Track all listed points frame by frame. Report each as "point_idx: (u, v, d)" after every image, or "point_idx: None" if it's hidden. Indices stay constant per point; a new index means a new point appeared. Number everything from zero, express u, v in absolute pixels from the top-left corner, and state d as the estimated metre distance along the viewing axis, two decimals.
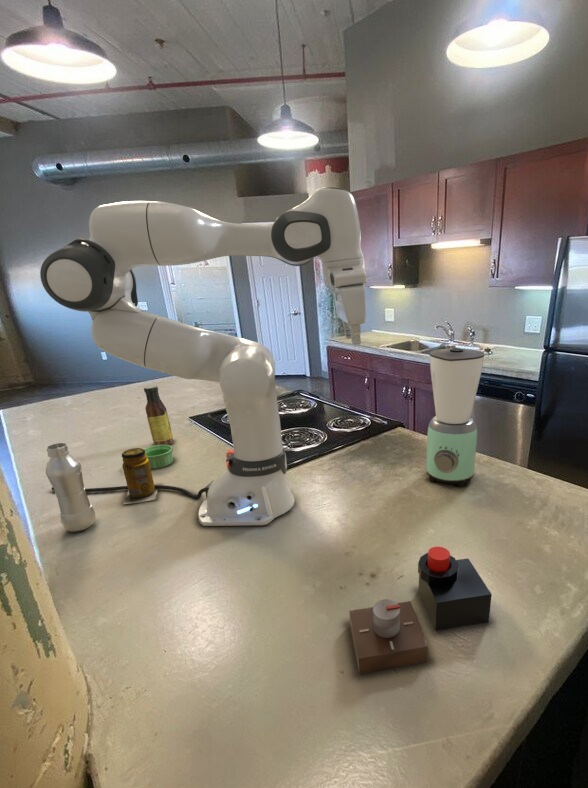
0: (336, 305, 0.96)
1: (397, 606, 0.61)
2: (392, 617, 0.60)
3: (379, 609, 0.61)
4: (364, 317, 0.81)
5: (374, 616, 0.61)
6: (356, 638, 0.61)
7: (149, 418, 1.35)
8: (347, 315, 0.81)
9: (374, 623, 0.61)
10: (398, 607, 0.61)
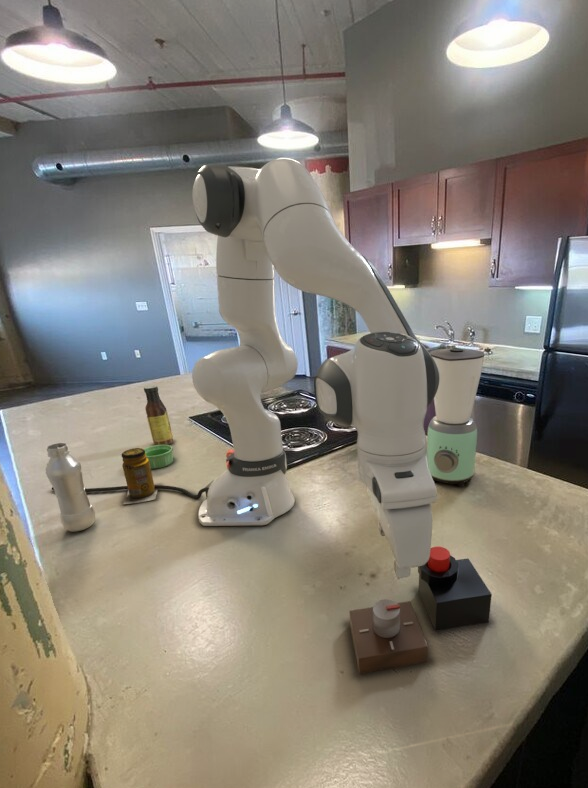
0: None
1: (397, 606, 0.61)
2: (392, 617, 0.60)
3: (379, 609, 0.61)
4: (427, 560, 0.47)
5: (374, 616, 0.61)
6: (356, 638, 0.61)
7: (149, 418, 1.35)
8: (399, 558, 0.47)
9: (374, 623, 0.61)
10: (398, 607, 0.61)
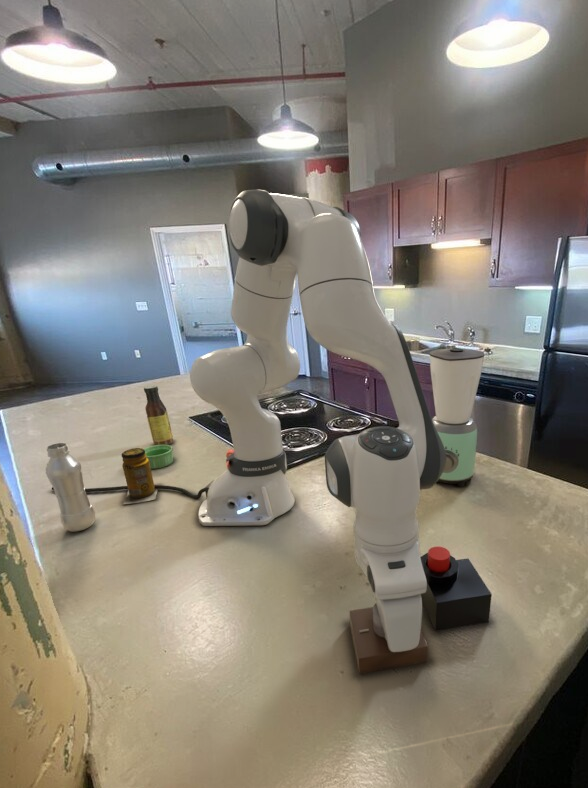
0: None
1: None
2: None
3: None
4: (416, 645, 0.51)
5: (374, 616, 0.61)
6: (356, 638, 0.61)
7: (149, 418, 1.35)
8: (390, 644, 0.50)
9: (374, 623, 0.61)
10: None
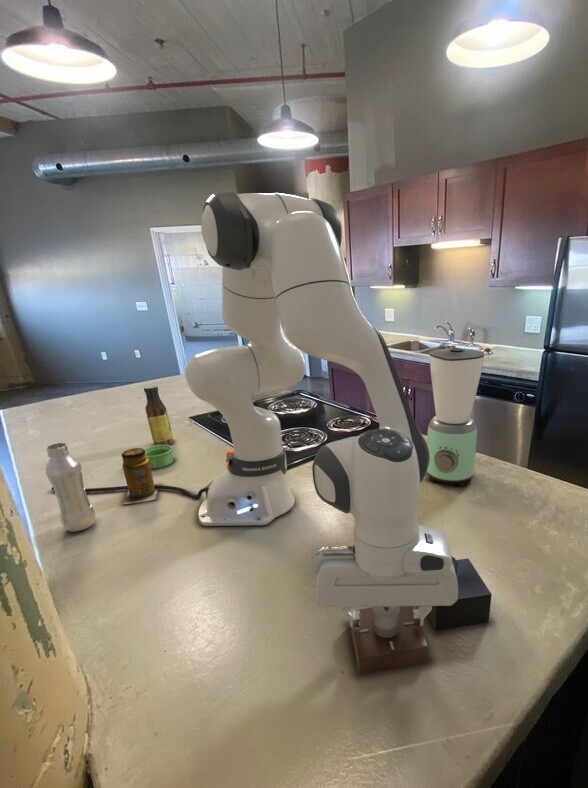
0: (333, 593, 0.58)
1: None
2: (398, 606, 0.62)
3: (385, 614, 0.60)
4: None
5: (389, 622, 0.60)
6: (356, 638, 0.61)
7: (149, 418, 1.35)
8: (457, 595, 0.58)
9: (389, 629, 0.60)
10: None
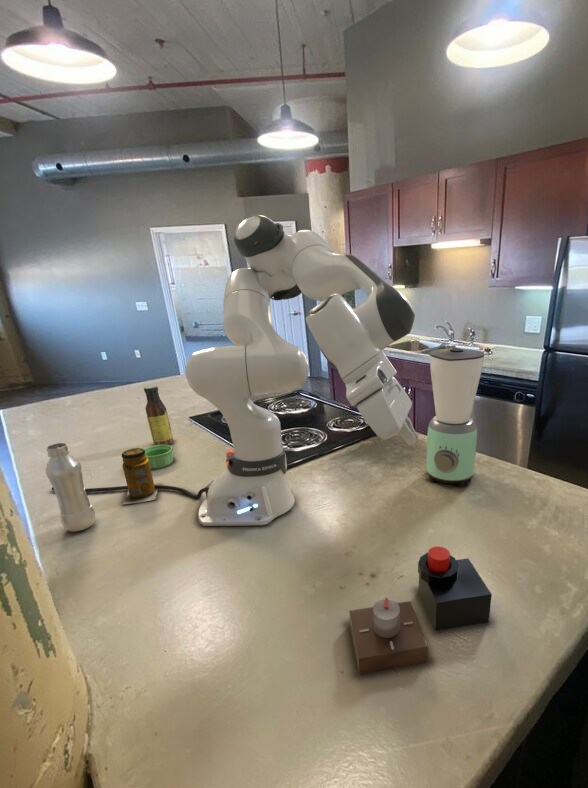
0: None
1: (387, 599, 0.63)
2: (398, 606, 0.62)
3: (385, 614, 0.60)
4: (395, 426, 0.65)
5: (389, 622, 0.60)
6: (356, 638, 0.61)
7: (149, 418, 1.35)
8: (375, 432, 0.66)
9: (389, 629, 0.60)
10: None
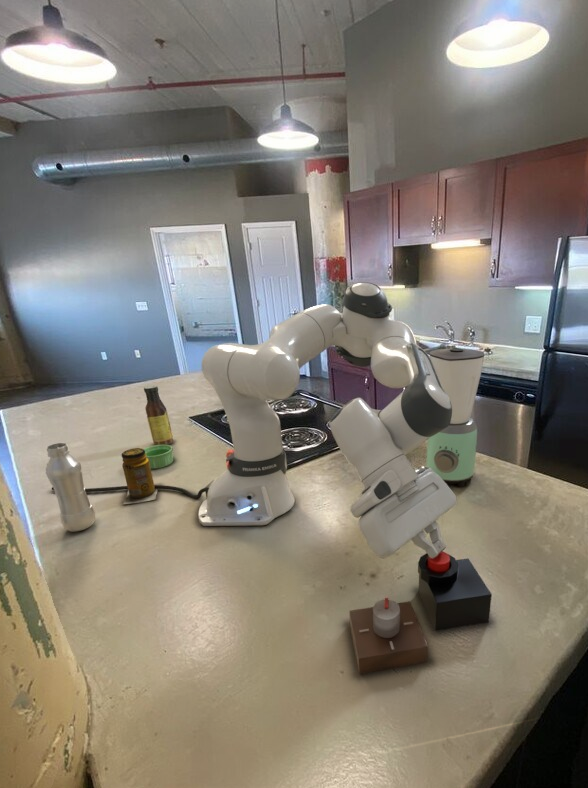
0: None
1: (387, 599, 0.63)
2: (398, 606, 0.62)
3: (385, 614, 0.60)
4: (386, 548, 0.62)
5: (389, 622, 0.60)
6: (356, 638, 0.61)
7: (149, 418, 1.35)
8: (372, 550, 0.64)
9: (389, 629, 0.60)
10: None
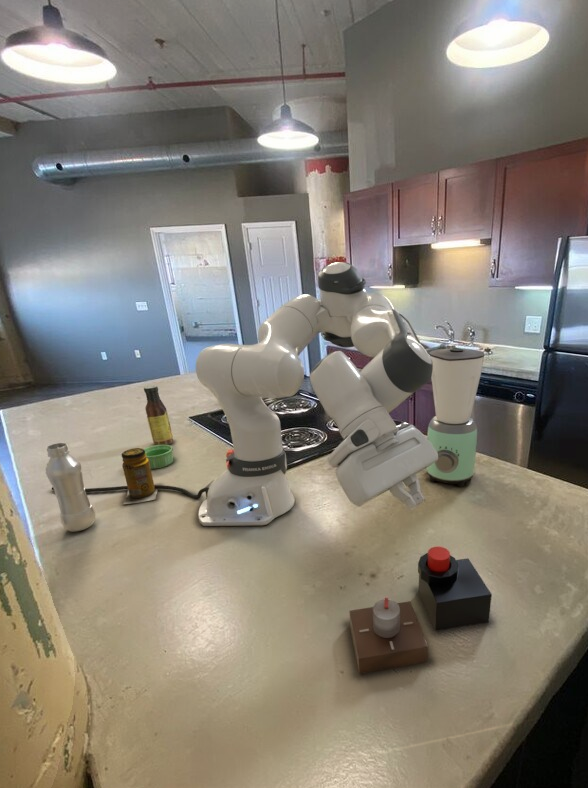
0: None
1: (387, 599, 0.63)
2: (398, 606, 0.62)
3: (385, 614, 0.60)
4: (361, 494, 0.61)
5: (389, 622, 0.60)
6: (356, 638, 0.61)
7: (149, 418, 1.35)
8: (348, 497, 0.63)
9: (389, 629, 0.60)
10: None
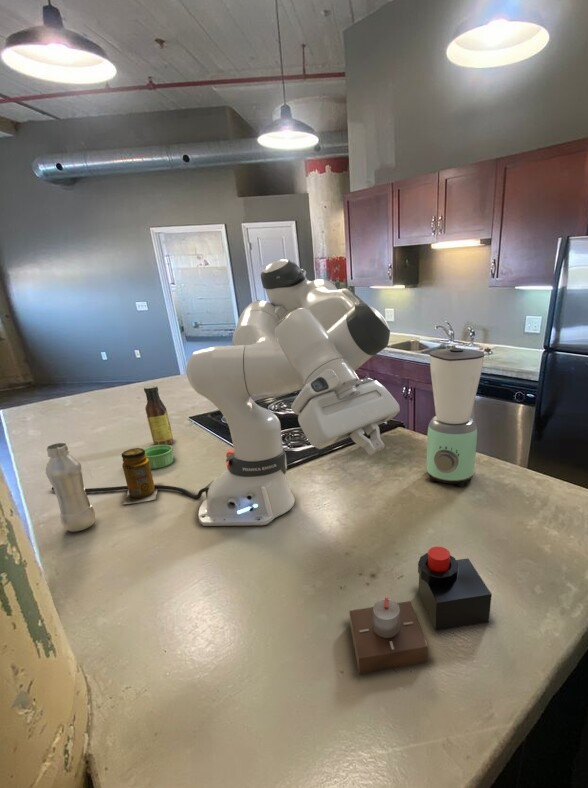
0: None
1: (387, 599, 0.63)
2: (398, 606, 0.62)
3: (385, 614, 0.60)
4: (320, 435, 0.64)
5: (389, 622, 0.60)
6: (356, 638, 0.61)
7: (149, 418, 1.35)
8: (309, 441, 0.67)
9: (389, 629, 0.60)
10: None
